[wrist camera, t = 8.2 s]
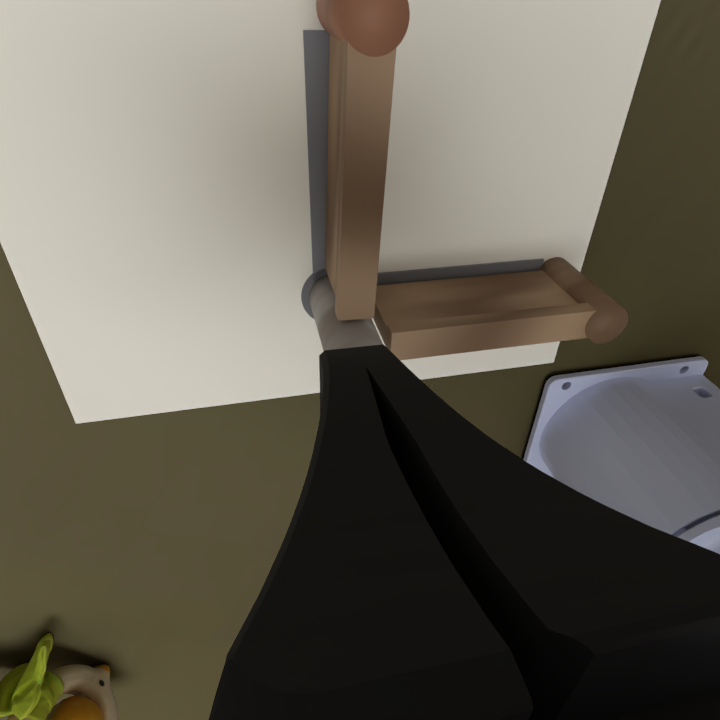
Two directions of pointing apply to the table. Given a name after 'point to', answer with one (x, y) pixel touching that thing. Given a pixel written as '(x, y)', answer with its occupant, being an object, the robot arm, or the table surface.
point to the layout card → (282, 177)
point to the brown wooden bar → (358, 142)
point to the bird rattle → (56, 690)
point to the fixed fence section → (475, 313)
